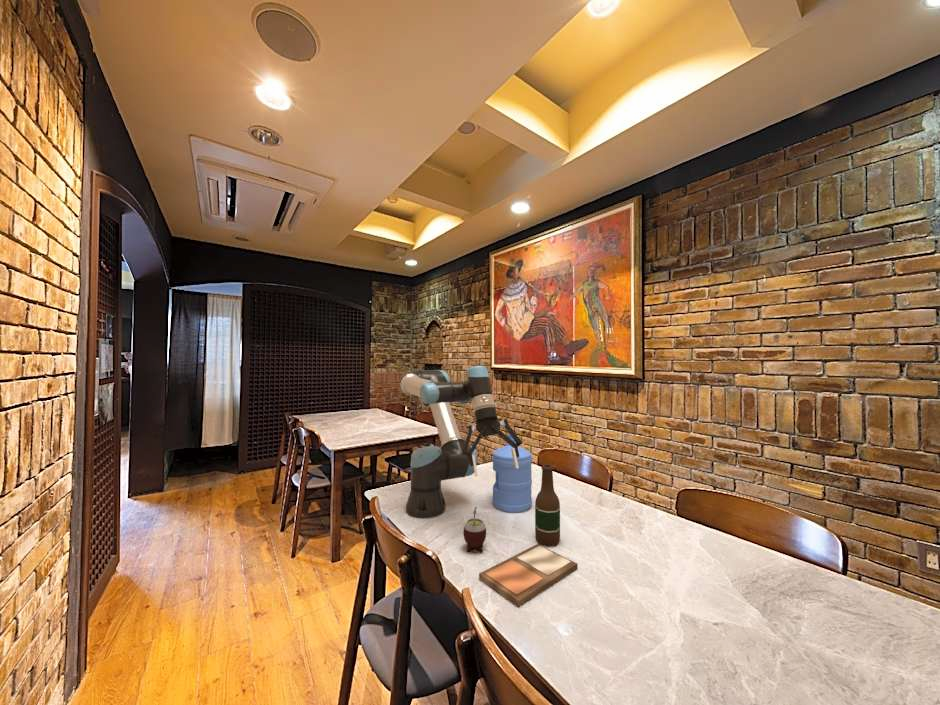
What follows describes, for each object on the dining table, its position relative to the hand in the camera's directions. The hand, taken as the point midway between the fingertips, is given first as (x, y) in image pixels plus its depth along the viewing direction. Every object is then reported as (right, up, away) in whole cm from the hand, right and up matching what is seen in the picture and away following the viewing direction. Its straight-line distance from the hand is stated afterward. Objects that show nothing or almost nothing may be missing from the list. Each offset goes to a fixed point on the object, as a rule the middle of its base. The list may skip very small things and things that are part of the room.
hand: (496, 472), depth 117 cm
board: (+7, -21, -20) cm, 30 cm away
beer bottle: (+16, -21, -3) cm, 27 cm away
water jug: (+8, -22, +26) cm, 35 cm away
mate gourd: (-7, -21, -8) cm, 24 cm away
